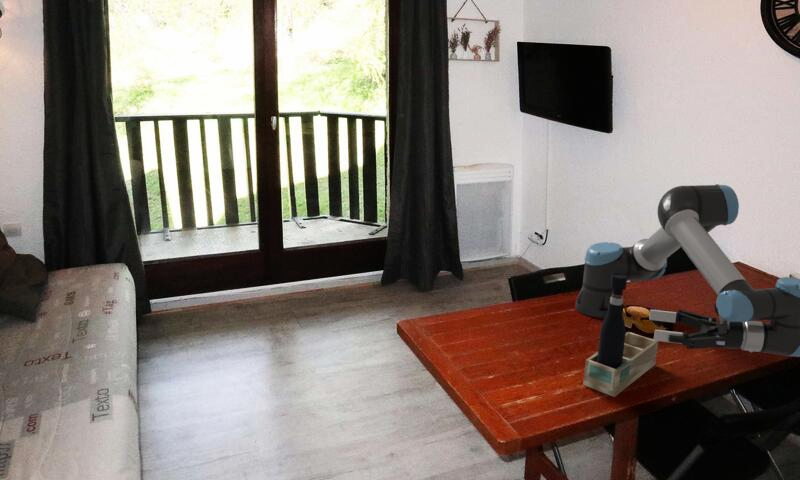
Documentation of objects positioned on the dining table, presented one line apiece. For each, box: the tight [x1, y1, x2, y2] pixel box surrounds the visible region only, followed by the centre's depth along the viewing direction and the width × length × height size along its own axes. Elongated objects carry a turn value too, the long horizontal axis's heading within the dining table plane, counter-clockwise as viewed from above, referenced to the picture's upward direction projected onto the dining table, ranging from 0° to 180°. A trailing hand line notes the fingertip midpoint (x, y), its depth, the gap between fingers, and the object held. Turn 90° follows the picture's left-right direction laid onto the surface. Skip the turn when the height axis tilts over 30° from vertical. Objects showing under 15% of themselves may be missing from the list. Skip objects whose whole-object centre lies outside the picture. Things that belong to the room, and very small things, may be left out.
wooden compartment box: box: [582, 331, 659, 398], centre depth 186 cm, size 9×26×8 cm, turn 137°
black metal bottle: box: [597, 274, 628, 369], centre depth 177 cm, size 6×6×30 cm
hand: (651, 324), depth 174 cm, fingers open, 13 cm apart
